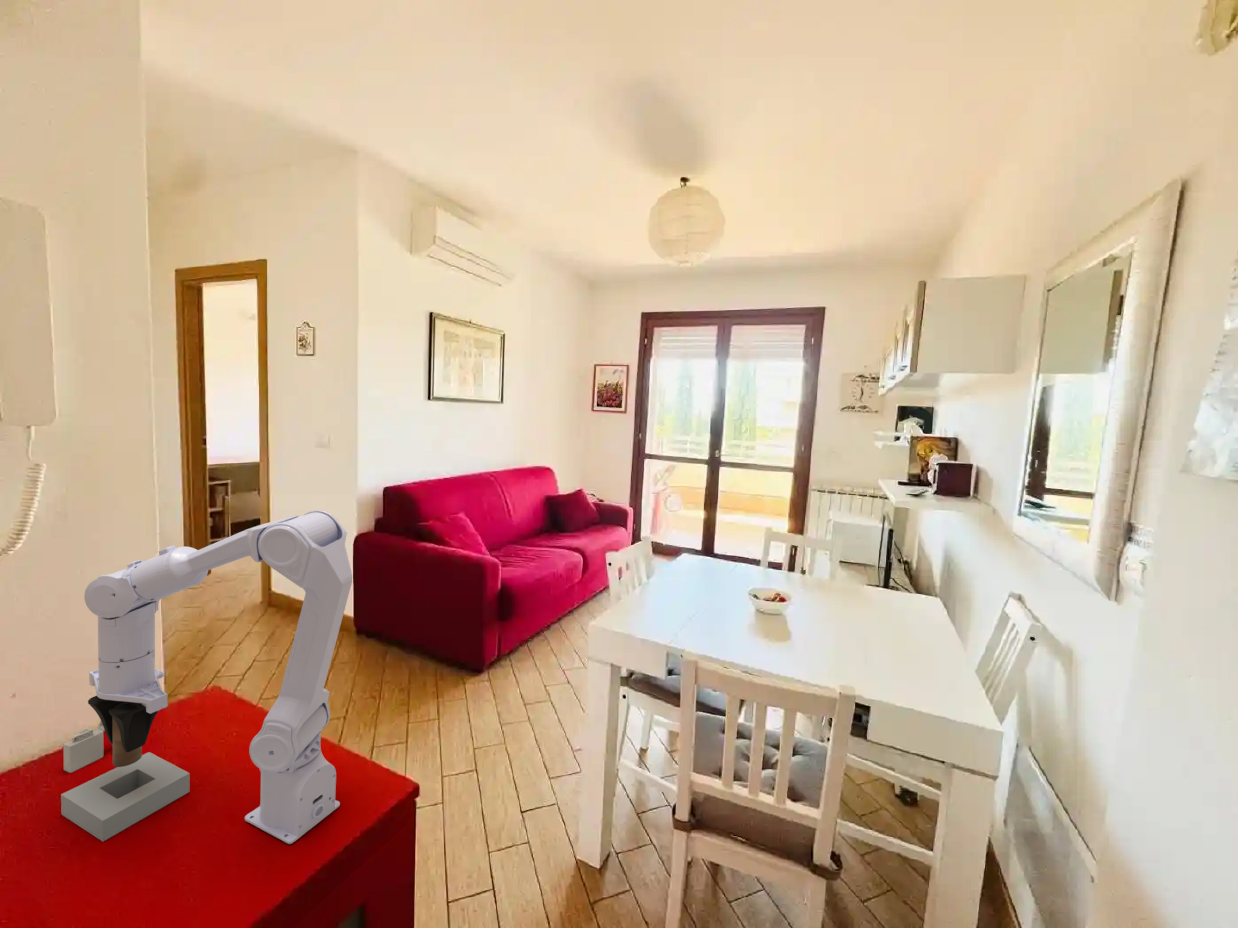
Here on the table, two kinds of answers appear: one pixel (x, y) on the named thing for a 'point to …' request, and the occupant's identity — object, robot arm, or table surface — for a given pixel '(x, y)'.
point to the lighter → (83, 748)
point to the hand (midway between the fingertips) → (127, 743)
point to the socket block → (110, 815)
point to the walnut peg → (122, 749)
